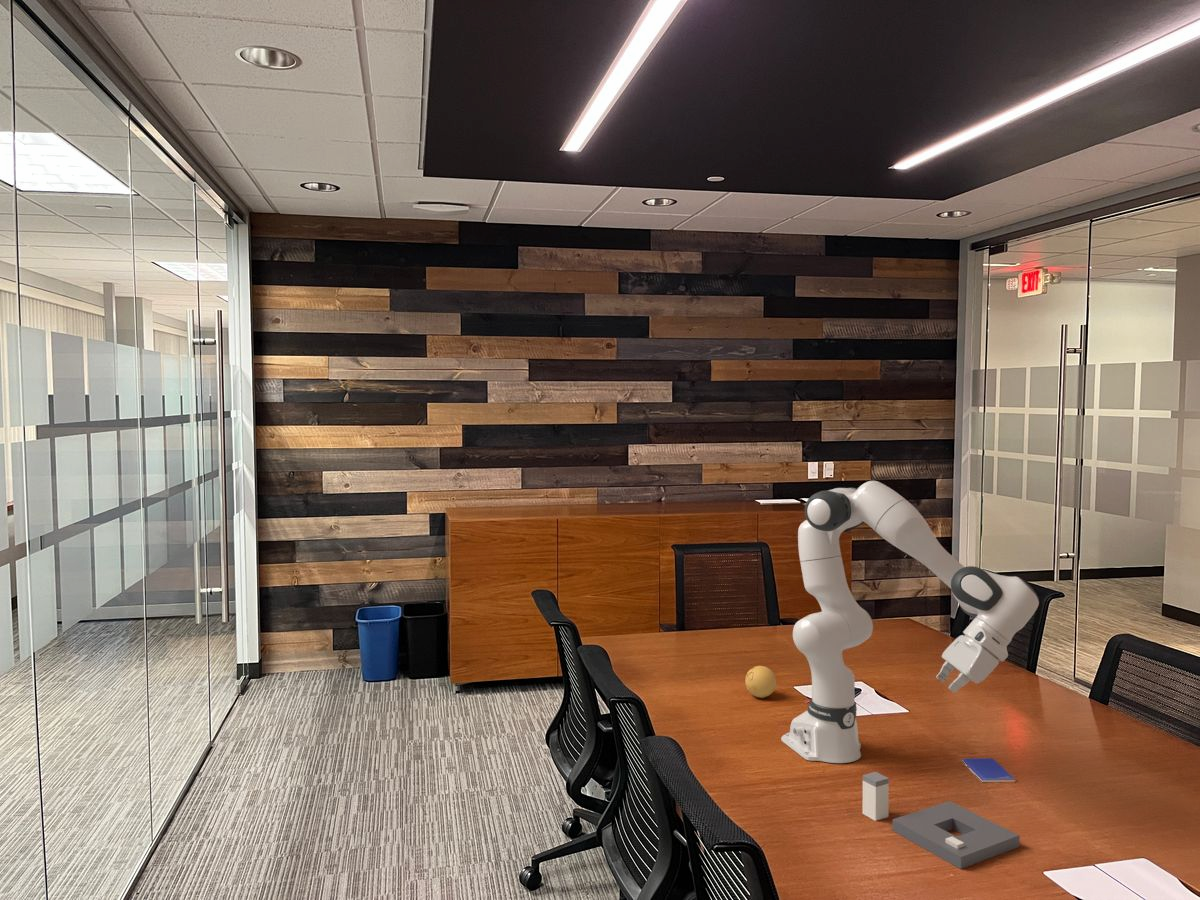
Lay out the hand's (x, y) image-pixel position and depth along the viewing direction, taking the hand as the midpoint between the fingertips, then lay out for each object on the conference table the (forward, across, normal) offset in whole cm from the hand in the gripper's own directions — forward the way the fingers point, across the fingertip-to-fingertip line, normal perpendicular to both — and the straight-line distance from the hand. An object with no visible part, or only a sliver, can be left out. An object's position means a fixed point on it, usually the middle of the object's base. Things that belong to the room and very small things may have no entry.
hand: (944, 685), depth 197 cm
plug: (+33, +3, +6) cm, 34 cm away
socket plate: (+24, +12, +18) cm, 32 cm away
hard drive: (+11, -23, +30) cm, 40 cm away
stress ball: (+41, -75, -14) cm, 87 cm away
